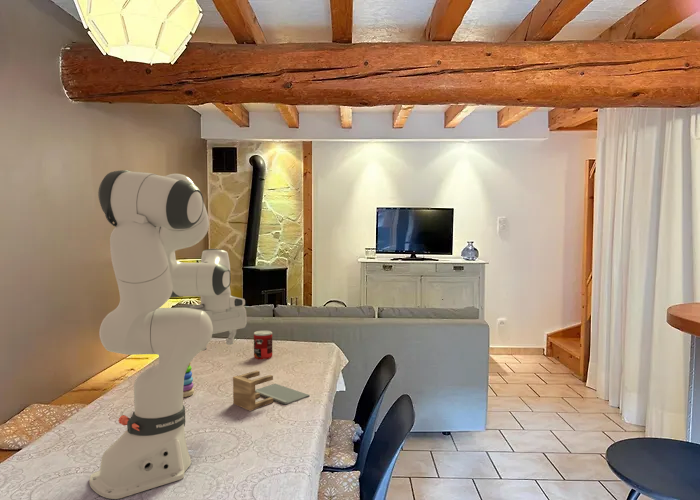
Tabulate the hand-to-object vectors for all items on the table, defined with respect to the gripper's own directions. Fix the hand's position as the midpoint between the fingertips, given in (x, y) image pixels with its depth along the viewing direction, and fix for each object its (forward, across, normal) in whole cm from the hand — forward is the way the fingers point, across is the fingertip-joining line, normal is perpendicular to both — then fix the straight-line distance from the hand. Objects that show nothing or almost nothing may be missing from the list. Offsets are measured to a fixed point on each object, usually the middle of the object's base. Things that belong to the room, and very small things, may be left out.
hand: (216, 347), depth 153 cm
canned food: (+22, +50, +41) cm, 68 cm away
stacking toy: (+22, +2, +25) cm, 33 cm away
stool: (+21, +14, 0) cm, 25 cm away
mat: (+21, +25, 0) cm, 33 cm away
